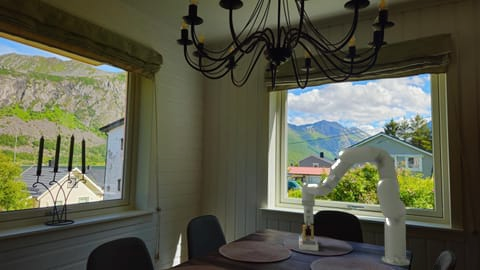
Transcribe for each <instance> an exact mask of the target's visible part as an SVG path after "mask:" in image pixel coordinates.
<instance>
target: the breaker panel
mask: <svg viewBox="0 0 480 270" xmlns="http://www.w3.org/2000/svg"><path fill="white" fill-rule="evenodd" d="M298 244H299V246H298V247H299V250H303V251H313V252H318V251H319V243H318V240H317V238H316V236H315V235H314V234H313V237H310V240H306V236H303V232H301V234H300V235H298Z"/></svg>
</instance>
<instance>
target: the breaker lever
mask: <svg viewBox="0 0 480 270" xmlns="http://www.w3.org/2000/svg"><path fill="white" fill-rule="evenodd" d="M305 228H306V224H303V225H302V233H303V236H306V235H305ZM313 235H314V225H313V224H311V236H306V240H310V237H313Z"/></svg>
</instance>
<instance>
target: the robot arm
mask: <svg viewBox="0 0 480 270" xmlns="http://www.w3.org/2000/svg"><path fill="white" fill-rule="evenodd" d="M361 163H375V165H376V168H377V169H376V170H377V174H378V179H379V180H377V181H378V182H377V183H376V193H377V199H378V203H379V207H380V211H381V214H382V215H383V216H384V256H382V257H381V261H382V262H384V263H385V264H388V265H393V266H398V267H399V266H401V267H404V266H409V265H411V264H410V263H411V261H410V260H409V259H407V247H406V246H407V240H406V239H407V238H406V236H407V235H406V233H407V232H406V223H407V221H406V220H407V219H406V217H407V210H406V209H407V208H406V204H405V203H404V202H403V200H402V199H400V194H399V191H400V189H401V187H400V182H399V179H398V174H397V170H396V168H395V167H396V166H395V162H394V159H393V157H392V156H391V154H390V152H388V151H387V150H386V149H384V148H380V147H378V146H377V147H376V146H372V145H362V146H353V147H346V148H343V149H341V150H340V151H339V152H338V158H337V159H336V160H335V161H334V162H333V163H332V164H331V166H330V168H329V173H328V175H327V176H326V178H324V180H322V182H316V183H315V182H310V181H309V182H307V181H305V182H302V184H301V206H302V207H303V219H304V220H303V221H304V224H305V225H306V228H305V235H306V236H311V225H313V224H314V207H315V205H316V196H317V197H323V196H326V195H329V194H330V193H332V191H333V190H334V189H335V188H336V187H337V185H339V183H340V182H341V180H342V179H343V177H344V176H345V175H346V174H347V173H348V172H349V170H350V169H352V167H353V166H354V165H355V164H361Z"/></svg>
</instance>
